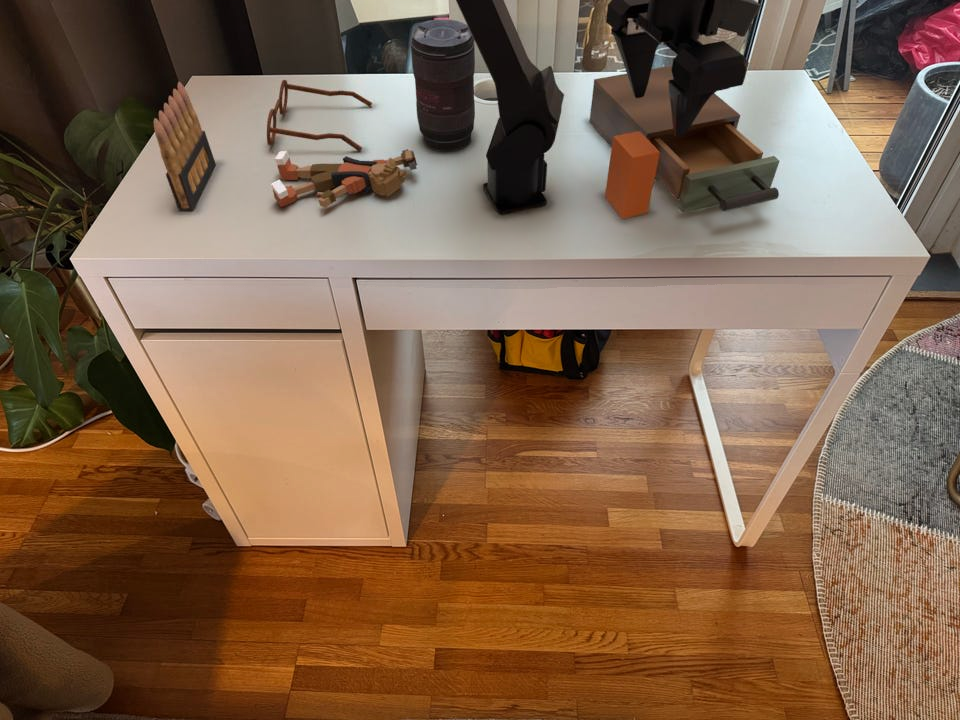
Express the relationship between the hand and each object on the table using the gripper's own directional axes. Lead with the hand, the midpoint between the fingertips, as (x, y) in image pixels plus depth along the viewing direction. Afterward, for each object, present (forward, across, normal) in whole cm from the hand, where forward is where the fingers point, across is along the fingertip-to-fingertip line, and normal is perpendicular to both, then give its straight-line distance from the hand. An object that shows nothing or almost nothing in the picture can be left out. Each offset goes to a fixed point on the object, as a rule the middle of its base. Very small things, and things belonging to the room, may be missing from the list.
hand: (658, 115), depth 78 cm
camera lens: (+12, +24, +18) cm, 32 cm away
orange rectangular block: (+12, +2, +2) cm, 13 cm away
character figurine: (+12, +17, +34) cm, 40 cm away
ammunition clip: (+12, +24, +52) cm, 58 cm away
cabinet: (+12, +14, -10) cm, 21 cm away
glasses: (+12, +33, +34) cm, 49 cm away
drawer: (+12, +2, -10) cm, 15 cm away
